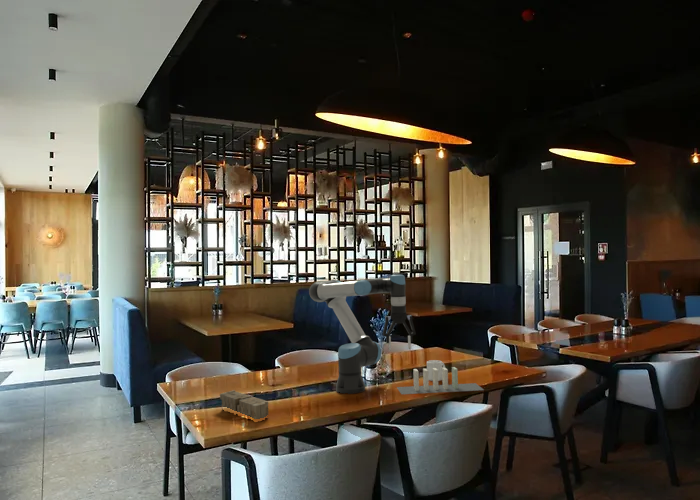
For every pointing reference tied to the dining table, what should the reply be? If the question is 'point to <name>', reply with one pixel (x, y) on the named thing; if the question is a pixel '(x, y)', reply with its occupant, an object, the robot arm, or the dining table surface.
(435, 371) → the domino
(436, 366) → the cup
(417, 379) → the domino
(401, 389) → the slate mat
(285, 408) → the dining table surface
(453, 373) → the domino
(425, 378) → the domino
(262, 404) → the grey long block
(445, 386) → the domino
